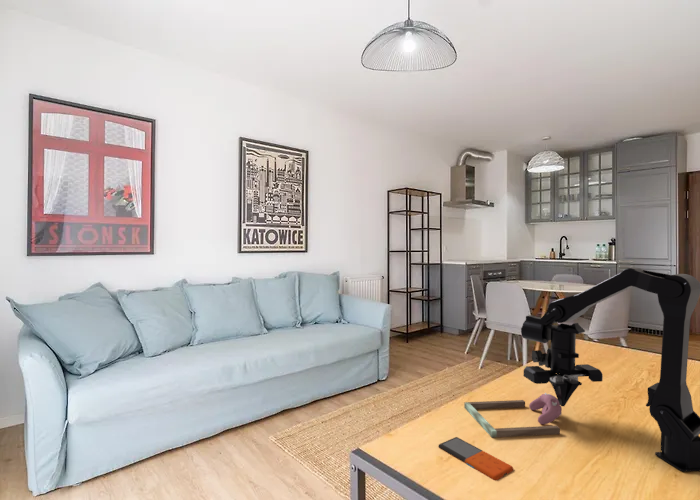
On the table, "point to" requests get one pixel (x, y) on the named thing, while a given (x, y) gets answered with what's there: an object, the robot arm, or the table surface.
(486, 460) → the two-tone rubber eraser
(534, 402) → the video game controller
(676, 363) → the robot arm
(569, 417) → the table surface
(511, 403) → the u-shaped rail frame
